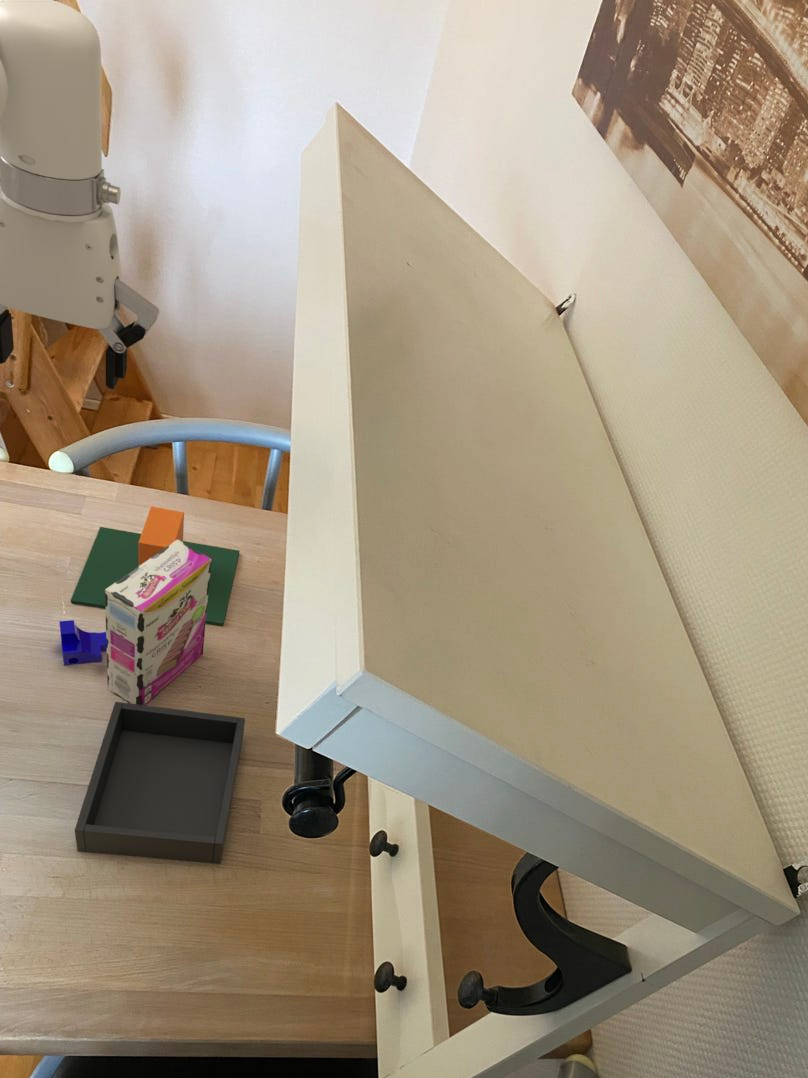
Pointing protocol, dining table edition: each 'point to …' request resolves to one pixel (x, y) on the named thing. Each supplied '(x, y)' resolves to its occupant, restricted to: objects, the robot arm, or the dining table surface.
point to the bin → (162, 785)
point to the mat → (121, 556)
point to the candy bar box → (156, 622)
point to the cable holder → (81, 644)
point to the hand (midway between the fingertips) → (59, 369)
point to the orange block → (160, 532)
